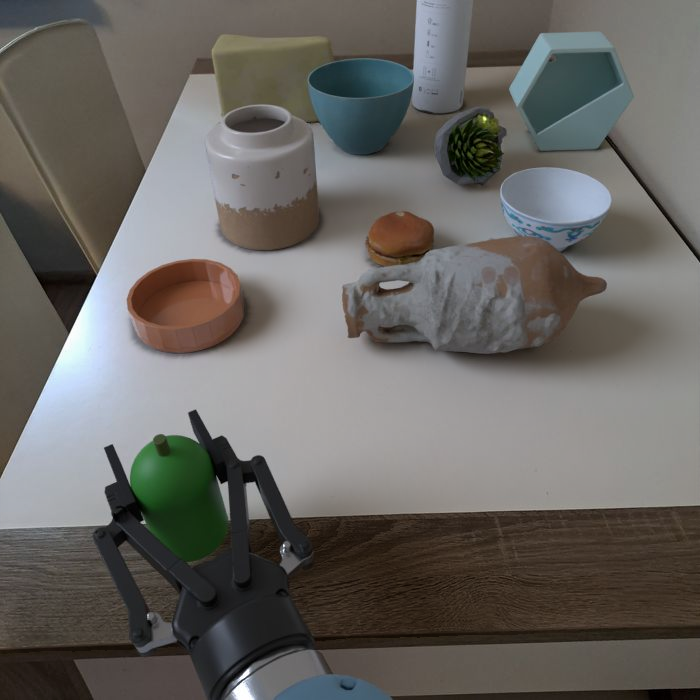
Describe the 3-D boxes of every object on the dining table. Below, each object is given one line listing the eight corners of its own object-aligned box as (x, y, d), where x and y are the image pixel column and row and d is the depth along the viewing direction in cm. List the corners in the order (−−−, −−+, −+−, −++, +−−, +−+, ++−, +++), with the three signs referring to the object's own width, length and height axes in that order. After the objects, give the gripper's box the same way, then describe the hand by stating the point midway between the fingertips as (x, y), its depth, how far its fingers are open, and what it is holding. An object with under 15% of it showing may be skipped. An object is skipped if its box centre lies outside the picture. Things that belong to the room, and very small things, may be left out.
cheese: (340, 108, 130) (337, 29, 120) (336, 129, 123) (333, 47, 113) (232, 108, 132) (219, 30, 121) (222, 130, 125) (208, 48, 114)
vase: (321, 196, 105) (314, 94, 94) (317, 250, 94) (308, 142, 83) (228, 198, 106) (210, 97, 94) (213, 252, 95) (190, 145, 83)
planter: (552, 174, 118) (502, 80, 106) (542, 154, 123) (494, 63, 112) (644, 122, 111) (602, 16, 99) (630, 103, 117) (589, 1, 105)
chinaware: (472, 230, 97) (478, 184, 92) (549, 203, 102) (558, 157, 97) (540, 283, 87) (551, 234, 82) (621, 249, 92) (636, 202, 87)
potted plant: (505, 136, 112) (547, 151, 99) (453, 192, 114) (487, 214, 101) (461, 85, 106) (499, 94, 93) (407, 145, 109) (437, 162, 96)
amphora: (642, 285, 66) (354, 236, 64) (585, 405, 75) (330, 365, 73) (602, 232, 78) (357, 189, 76) (557, 342, 87) (336, 306, 85)
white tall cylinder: (473, 102, 131) (489, -45, 113) (443, 120, 125) (455, -33, 107) (431, 89, 136) (440, -54, 118) (400, 105, 130) (405, -42, 112)
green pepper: (158, 572, 55) (117, 485, 46) (150, 508, 59) (112, 418, 51) (235, 549, 56) (209, 460, 47) (221, 488, 61) (196, 397, 52)
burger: (381, 276, 89) (381, 248, 86) (357, 241, 96) (357, 214, 93) (445, 261, 92) (448, 233, 89) (418, 228, 98) (419, 200, 95)
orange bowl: (140, 365, 78) (131, 340, 75) (130, 295, 88) (122, 271, 85) (255, 337, 81) (250, 313, 78) (233, 273, 91) (229, 249, 88)
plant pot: (328, 119, 127) (324, 54, 118) (419, 127, 123) (422, 60, 115) (299, 162, 114) (293, 93, 106) (400, 172, 110) (402, 102, 102)
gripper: (132, 787, 40) (53, 512, 55) (394, 626, 47) (262, 420, 62) (97, 752, 35) (20, 459, 50) (397, 577, 42) (252, 365, 57)
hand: (154, 438), depth 56 cm, fingers closed on green pepper, 7 cm apart
